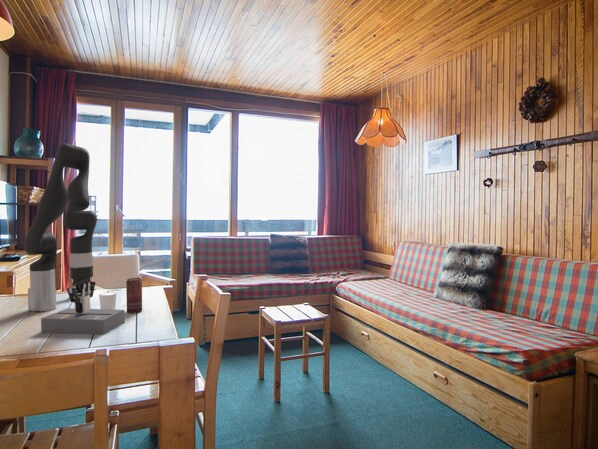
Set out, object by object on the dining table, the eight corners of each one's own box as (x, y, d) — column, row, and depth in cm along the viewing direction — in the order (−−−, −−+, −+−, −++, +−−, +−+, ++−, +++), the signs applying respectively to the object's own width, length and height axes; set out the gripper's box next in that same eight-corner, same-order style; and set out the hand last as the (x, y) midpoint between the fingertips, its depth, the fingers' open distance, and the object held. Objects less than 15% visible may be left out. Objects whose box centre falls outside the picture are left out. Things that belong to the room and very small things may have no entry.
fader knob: (74, 318, 143) (74, 297, 143) (79, 316, 146) (79, 295, 146) (85, 319, 143) (84, 297, 143) (90, 316, 146) (89, 295, 146)
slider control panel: (41, 332, 139) (41, 318, 139) (67, 321, 153) (67, 308, 152) (103, 334, 137) (103, 319, 137) (124, 322, 151) (124, 309, 151)
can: (137, 313, 164) (136, 280, 163) (123, 312, 165) (123, 279, 164) (145, 310, 170) (145, 278, 169) (132, 309, 171) (132, 277, 170)
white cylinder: (120, 308, 172) (120, 292, 172) (108, 312, 166) (107, 295, 166) (108, 307, 175) (107, 291, 174) (95, 310, 168) (95, 294, 168)
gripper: (83, 262, 151) (84, 306, 152) (58, 267, 137) (59, 316, 138) (102, 262, 151) (103, 307, 151) (79, 268, 137) (80, 317, 137)
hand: (82, 311), depth 145 cm, fingers closed on fader knob, 3 cm apart
